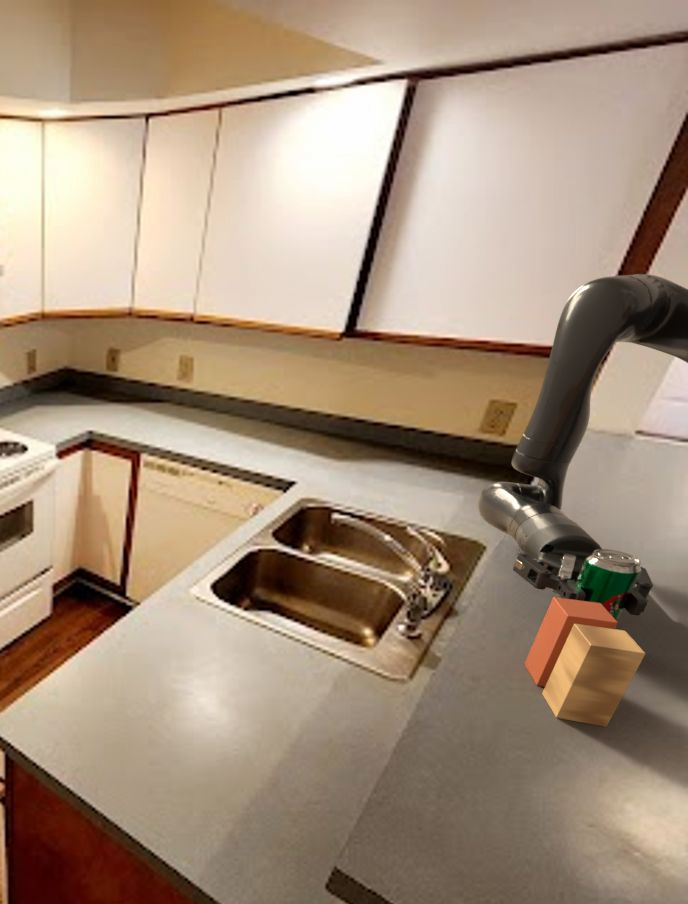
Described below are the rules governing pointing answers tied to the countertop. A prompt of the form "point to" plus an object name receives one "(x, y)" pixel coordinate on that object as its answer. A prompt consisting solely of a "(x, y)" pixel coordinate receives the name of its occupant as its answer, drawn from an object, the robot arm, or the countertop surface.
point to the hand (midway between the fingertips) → (608, 604)
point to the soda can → (609, 579)
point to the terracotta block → (562, 633)
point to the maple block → (592, 674)
